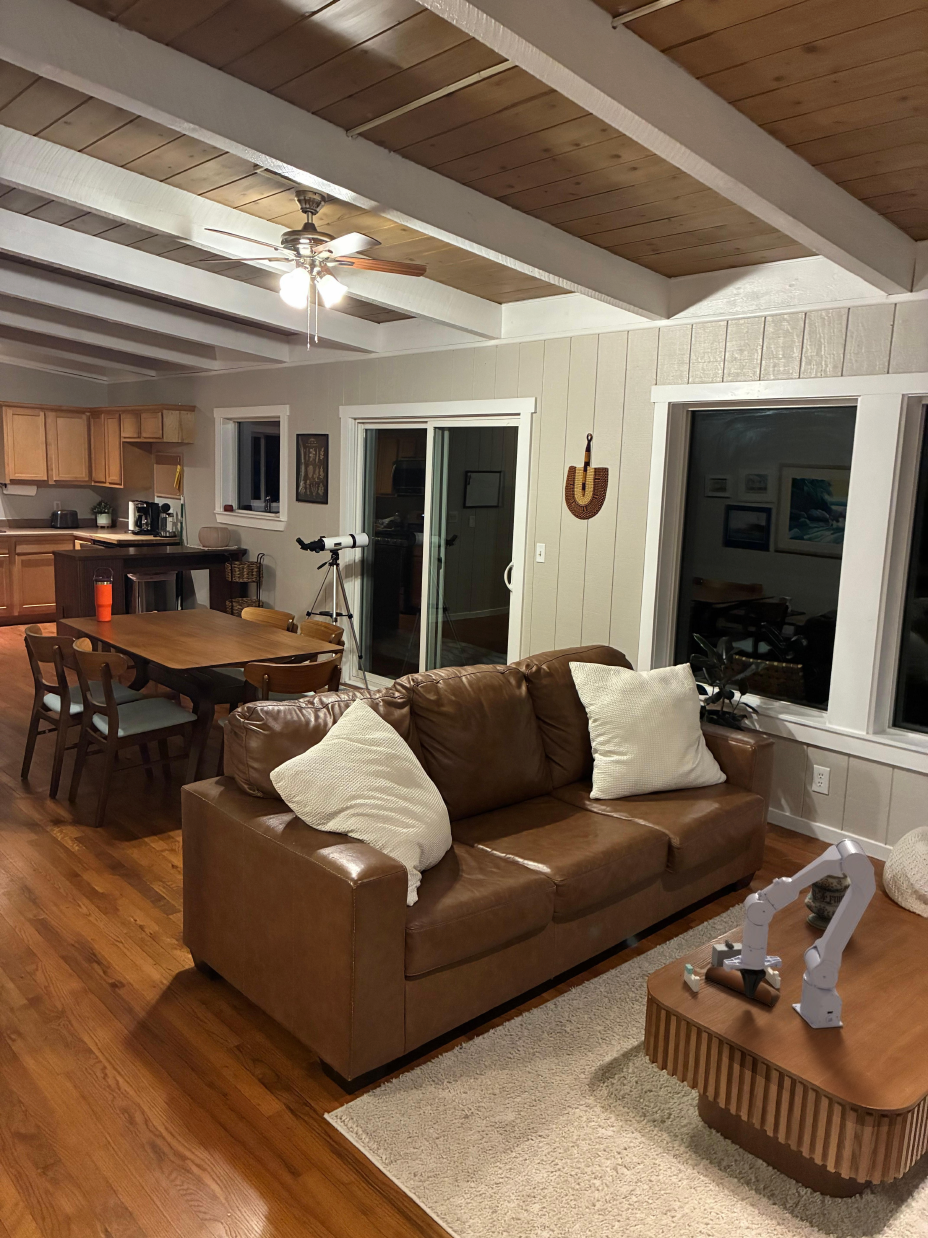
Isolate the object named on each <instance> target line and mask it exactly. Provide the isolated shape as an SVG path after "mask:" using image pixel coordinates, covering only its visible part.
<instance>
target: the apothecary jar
mask: <svg viewBox="0 0 928 1238" xmlns="http://www.w3.org/2000/svg"><path fill="white" fill-rule="evenodd" d="M842 875H843V877H838V876H834V875H826V876H825V877H823V878H821V879H819V880H818V881H816V882H814V883H812V884H811V885H810V886H811V888H810V892H809V893H808V894H807V895H806V896H805V899H804V904H805V906H806V908H807V909H808V910H809V912H811V914H809V915H807V917H806V921H807V923H808V924H809V925H810V926H813V927H815V928H817V929H820V930H824V931H826V929H827V927H828V925H829V924H830V922H831V920H832V918H833V916H834V914H835V912H836V911H837V909H838V907H839V905H840V903H841V901H842V899H843V898H844V896H845V894H846V892H847V890H848V888H849V886H850V885H851V881H850V879H849V877H848V876H847V875H846V874H845V873H844V872H842Z"/></svg>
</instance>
